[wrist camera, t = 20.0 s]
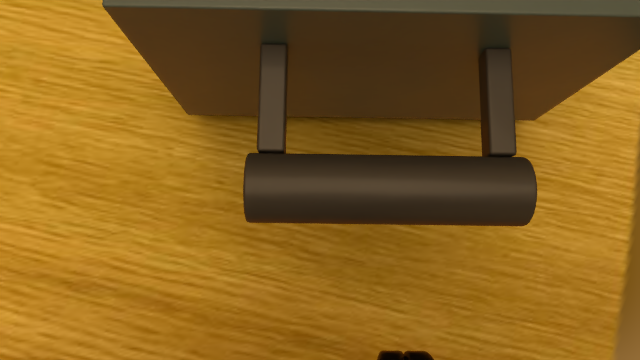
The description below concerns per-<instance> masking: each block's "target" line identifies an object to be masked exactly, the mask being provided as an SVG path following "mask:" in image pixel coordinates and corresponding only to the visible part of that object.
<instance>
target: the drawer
mask: <svg viewBox="0 0 640 360" xmlns="http://www.w3.org/2000/svg"><path fill="white" fill-rule="evenodd" d="M102 5H103V7H104V8H105V10H106V11H107V12H108V14H109V15H110V16H111V17H112V19H113V20H114V21H115V22H116V24H117V25H118V26H119V28H120V29H121V30H122V31H123V33H124V34H125V35H126V36H127V38H128V39H129V40H130V42H131V43H132V44H133V45H134V47H135V48H136V49H137V50H138V52H139V53H140V54H141V56H142V57H143V58H144V59H145V61H146V62H147V63H148V64H149V66H150V67H151V68H152V70H153V71H154V72H155V73H156V75H157V76H158V77H159V78H160V80H161V81H162V82H163V83H164V85H165V86H166V87H167V89H168V90H169V91H170V92H171V94H172V95H173V96H174V97H175V99H176V100H177V101H178V103H179V104H180V105H181V106H182V108H183V109H184V110H185V111H186V113H187V114H188V115H231V116H258V130H257V150H258V152H259V153H249V154H248V155H247V157H246V161H245V169H244V184H243V200H244V213H245V218H246V221H247V222H249V223H321V224H396V225H471V226H524V225H527V224H528V223H529V222H530V220H531V219H532V217H533V214H534V211H535V207H536V200H537V182H536V176H535V172H534V169H533V166H532V164H531V163H530V161H529V160H528V159H526V158H524V157H512V156H514V155H516V134H515V120H536V119H537V118H539V117H540V116H542V115H543V114H544V113H546V112H547V111H549V110H550V109H552V108H553V107H555V106H556V105H558V104H559V103H561V102H562V101H564V100H565V99H567V98H568V97H570V96H571V95H573V94H574V93H576V92H577V91H579V90H580V89H582V88H583V87H585V86H586V85H588V84H589V83H591V82H592V81H594V80H595V79H597V78H598V77H600V76H601V75H603V74H604V73H606V72H607V71H608V70H610V69H611V68H613V67H614V66H616V65H617V64H619V63H620V62H622V61H623V60H625V59H626V58H628V57H629V56H631V55H632V54H634V53H635V52H637V51H638V50H640V0H103V3H102ZM287 116H293V117H354V118H415V119H477V120H481V138H482V157H476V156H410V155H345V154H286V128H287Z"/></svg>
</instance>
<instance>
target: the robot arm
mask: <svg viewBox="0 0 640 360" xmlns="http://www.w3.org/2000/svg"><path fill="white" fill-rule="evenodd" d="M377 360H434V359H433V358H432V356H431V355H430V354H429V353H428V352H425V351H406V352H404V354H403V353H402V352H401V351H381V352H380V353H379V355H378V359H377Z"/></svg>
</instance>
